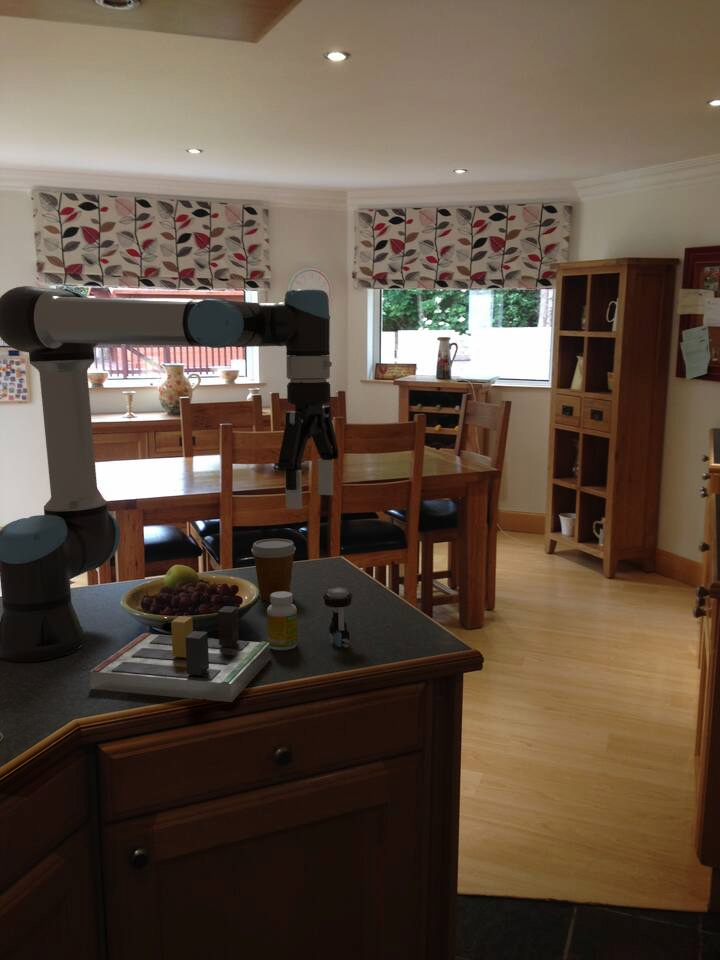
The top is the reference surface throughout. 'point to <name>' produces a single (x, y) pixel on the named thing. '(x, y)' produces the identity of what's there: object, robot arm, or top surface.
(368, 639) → the top surface
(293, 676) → the top surface
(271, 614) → the supplement bottle
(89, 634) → the top surface
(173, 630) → the block
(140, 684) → the panel
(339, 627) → the push button
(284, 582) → the disposable coffee cup
